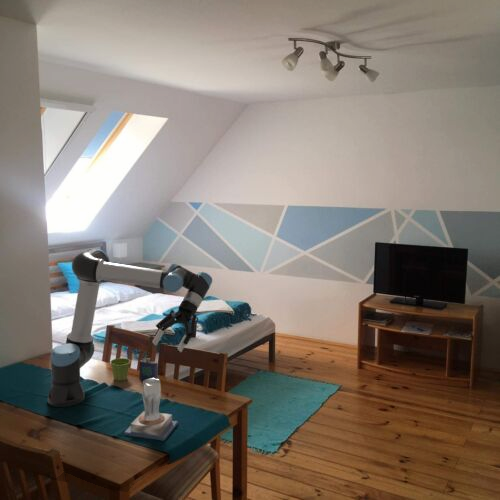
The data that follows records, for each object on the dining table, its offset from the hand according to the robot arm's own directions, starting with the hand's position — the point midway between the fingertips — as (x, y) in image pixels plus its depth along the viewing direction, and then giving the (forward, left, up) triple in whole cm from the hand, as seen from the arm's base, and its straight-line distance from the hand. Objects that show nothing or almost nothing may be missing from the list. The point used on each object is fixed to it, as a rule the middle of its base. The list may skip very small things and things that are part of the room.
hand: (166, 347), depth 223 cm
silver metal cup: (+1, -17, -23) cm, 29 cm away
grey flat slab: (+1, -17, -28) cm, 32 cm away
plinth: (+1, -17, -26) cm, 31 cm away
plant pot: (-34, +27, -28) cm, 52 cm away
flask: (-21, +30, -28) cm, 46 cm away
